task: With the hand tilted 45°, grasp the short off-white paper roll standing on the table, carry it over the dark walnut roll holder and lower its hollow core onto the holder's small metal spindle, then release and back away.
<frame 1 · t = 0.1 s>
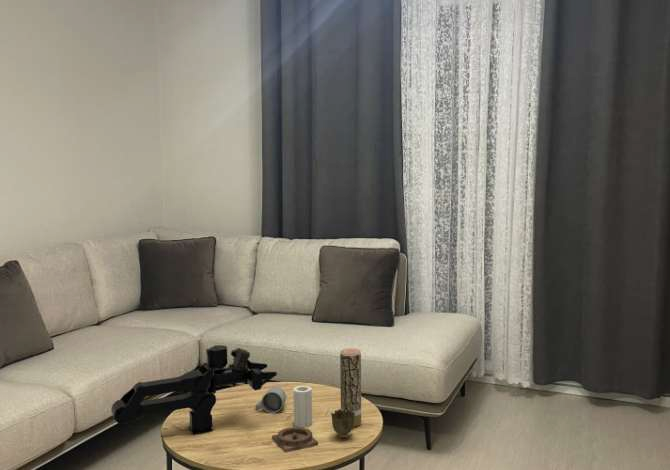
hand: (271, 369, 231), 17 cm above the table, tool horizontal, fingers open, 9 cm apart
holder: (294, 441, 212), on the table
roll: (303, 423, 227), on the table
ceramic mug: (270, 409, 240), on the table
paper tube: (351, 424, 226), on the table
cup: (343, 437, 215), on the table
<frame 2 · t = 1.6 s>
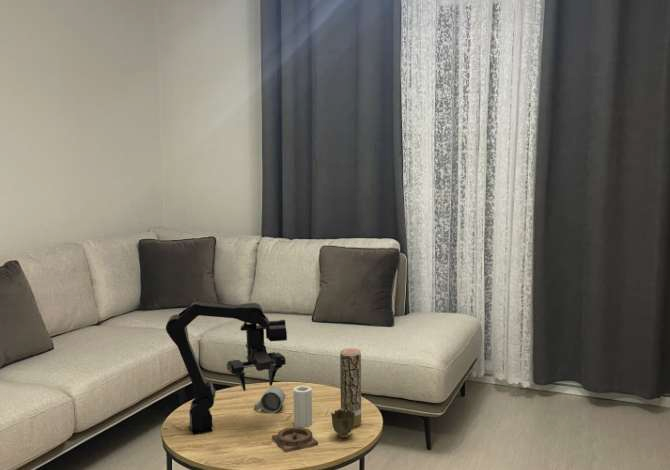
hand: (257, 388, 223), 13 cm above the table, tool pointing down, fingers open, 9 cm apart
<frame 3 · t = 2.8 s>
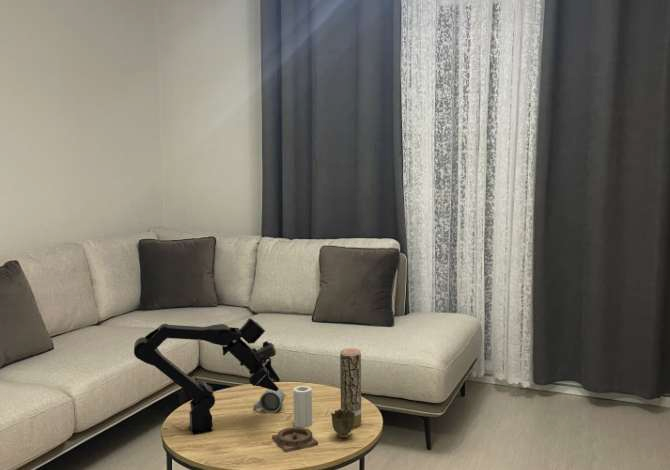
hand: (278, 385, 225), 13 cm above the table, tool tilted 45°, fingers open, 9 cm apart
nothing on the table moved.
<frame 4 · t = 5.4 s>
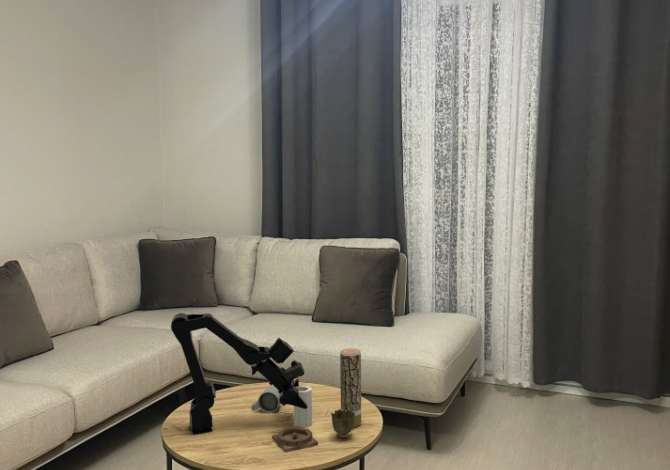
hand: (306, 404, 226), 7 cm above the table, tool tilted 45°, fingers closed on roll, 6 cm apart
roll: (303, 423, 227), on the table, touching gripper
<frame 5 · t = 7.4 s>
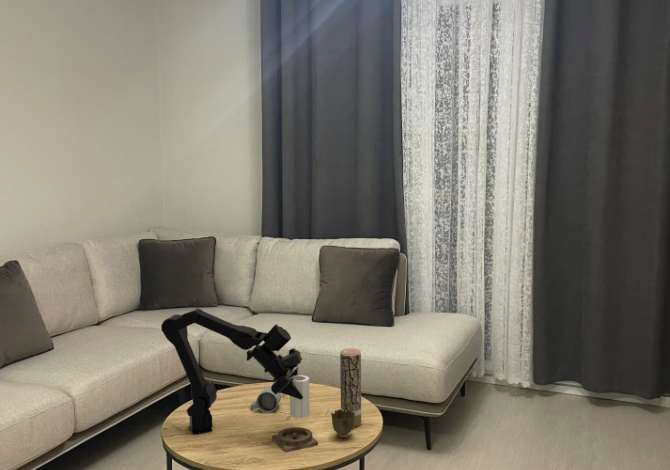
hand: (303, 394, 216), 13 cm above the table, tool tilted 45°, fingers closed on roll, 6 cm apart
roll: (299, 414, 217), point 7 cm above the table, touching gripper
when the fingers open (8 cm above the table, at t = 9.5 s): roll stays where it is, resting on holder.
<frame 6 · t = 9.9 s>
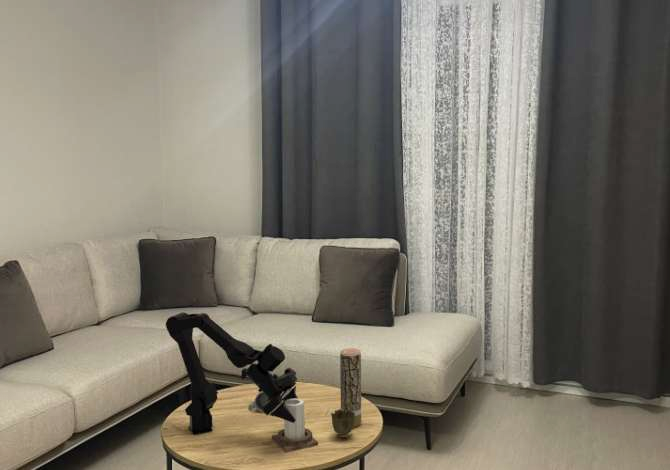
hand: (298, 415, 211), 9 cm above the table, tool tilted 45°, fingers open, 9 cm apart
roll: (294, 438, 212), point 1 cm above the table, touching holder
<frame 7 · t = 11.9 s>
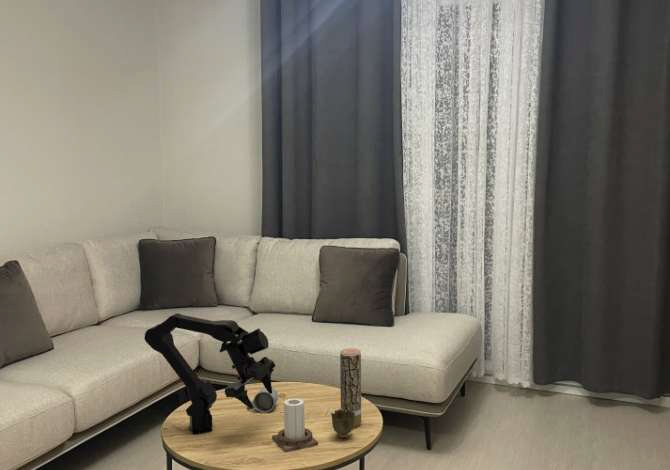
hand: (261, 401, 218), 11 cm above the table, tool tilted 25°, fingers open, 9 cm apart
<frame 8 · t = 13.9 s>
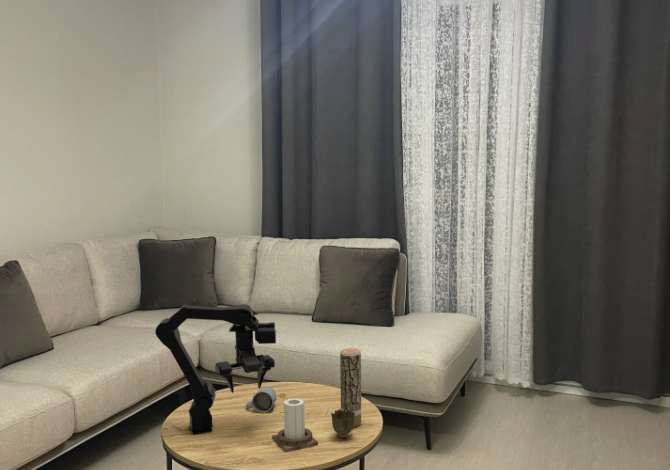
hand: (245, 390, 222), 13 cm above the table, tool pointing down, fingers open, 9 cm apart
at the end: roll 0.0 cm off-centre on the holder, point 1.0 cm above the holder's base; roll tilted 0°; the gripper is holding nothing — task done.
